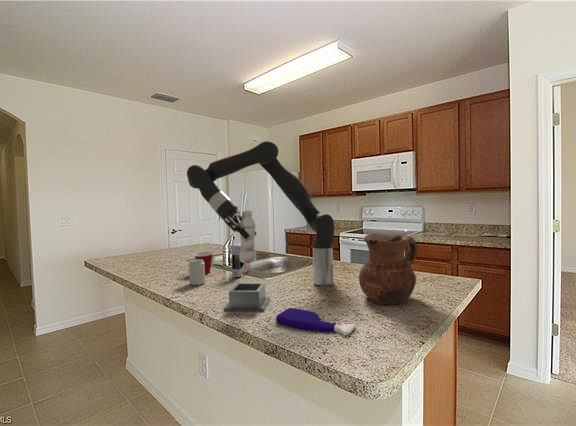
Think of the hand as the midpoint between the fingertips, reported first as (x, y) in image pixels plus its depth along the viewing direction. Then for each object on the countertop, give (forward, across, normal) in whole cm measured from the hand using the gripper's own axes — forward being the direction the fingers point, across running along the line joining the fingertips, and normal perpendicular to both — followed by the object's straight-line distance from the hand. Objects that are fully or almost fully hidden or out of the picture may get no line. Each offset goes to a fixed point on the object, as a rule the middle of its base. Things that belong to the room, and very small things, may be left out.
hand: (251, 236), depth 116 cm
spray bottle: (+38, -13, 0) cm, 40 cm away
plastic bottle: (+6, 0, +9) cm, 11 cm away
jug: (+54, +18, -17) cm, 59 cm away
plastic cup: (-14, +43, +53) cm, 70 cm away
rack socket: (+18, 0, +20) cm, 27 cm away
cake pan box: (+1, +45, +38) cm, 59 cm away
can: (-8, +23, +47) cm, 53 cm away
